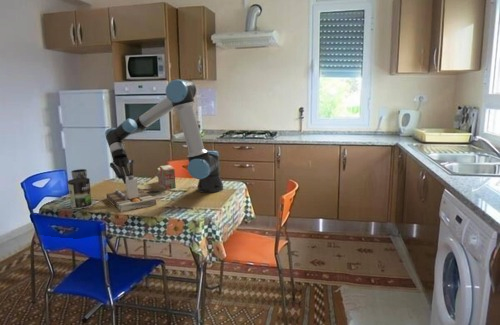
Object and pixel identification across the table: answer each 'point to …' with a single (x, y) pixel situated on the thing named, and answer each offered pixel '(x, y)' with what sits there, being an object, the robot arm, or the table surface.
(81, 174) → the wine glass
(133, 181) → the pale grey bottle
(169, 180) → the printed cardboard box
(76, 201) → the coffee can
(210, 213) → the table surface
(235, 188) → the table surface
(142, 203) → the wooden tray
